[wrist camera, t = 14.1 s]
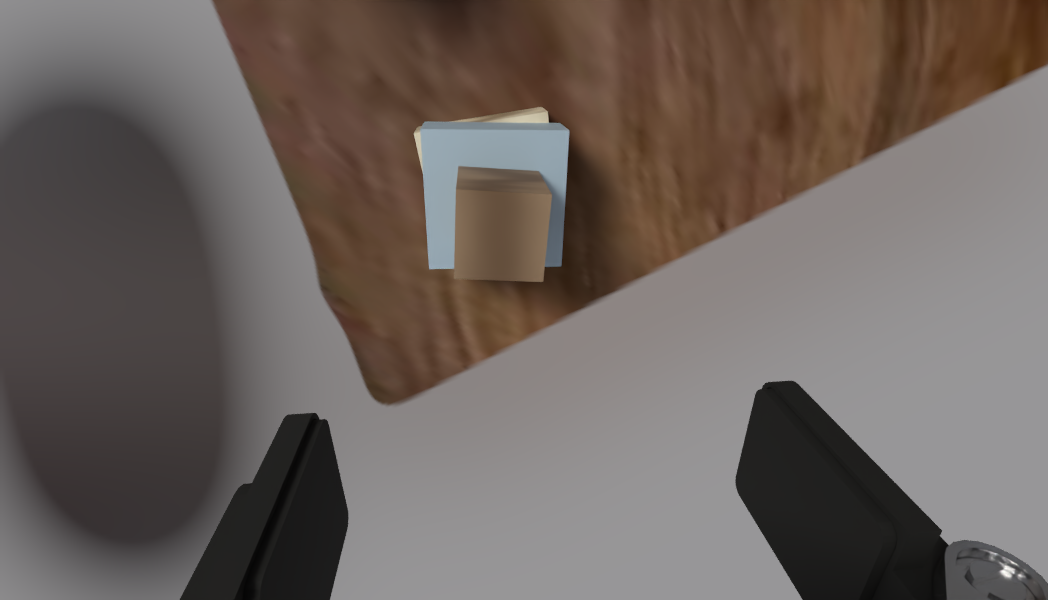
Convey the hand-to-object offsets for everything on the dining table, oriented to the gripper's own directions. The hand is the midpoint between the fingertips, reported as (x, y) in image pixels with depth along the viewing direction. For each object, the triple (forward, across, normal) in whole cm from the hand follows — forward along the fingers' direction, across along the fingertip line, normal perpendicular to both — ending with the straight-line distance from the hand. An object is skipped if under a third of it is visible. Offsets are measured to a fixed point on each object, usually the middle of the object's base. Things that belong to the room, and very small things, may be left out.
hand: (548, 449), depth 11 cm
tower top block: (+27, 0, +1) cm, 27 cm away
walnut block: (+24, 0, +1) cm, 24 cm away
